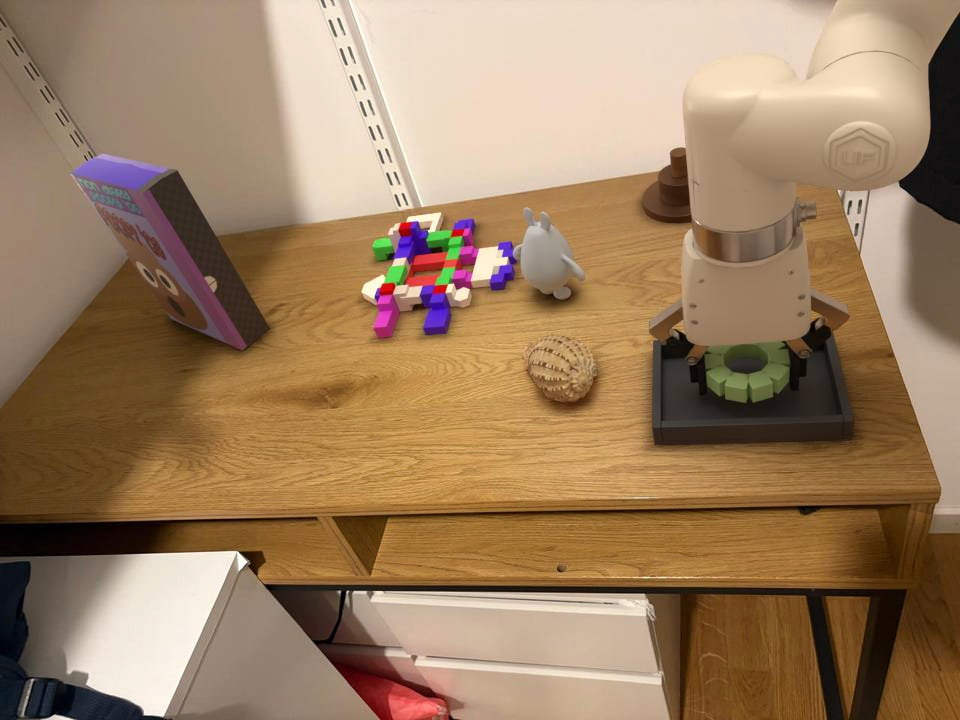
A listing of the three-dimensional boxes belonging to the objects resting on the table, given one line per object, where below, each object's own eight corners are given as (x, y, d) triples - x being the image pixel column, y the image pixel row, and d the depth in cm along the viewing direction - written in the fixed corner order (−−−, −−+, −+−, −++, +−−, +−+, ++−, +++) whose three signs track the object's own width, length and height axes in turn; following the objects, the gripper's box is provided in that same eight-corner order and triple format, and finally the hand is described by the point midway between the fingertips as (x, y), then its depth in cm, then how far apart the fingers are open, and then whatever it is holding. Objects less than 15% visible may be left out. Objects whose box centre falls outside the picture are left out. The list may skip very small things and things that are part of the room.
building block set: (502, 328, 86) (493, 299, 83) (343, 341, 92) (329, 314, 89) (527, 208, 104) (520, 180, 101) (391, 225, 109) (381, 199, 106)
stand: (721, 174, 98) (719, 125, 93) (725, 217, 91) (724, 167, 86) (643, 184, 101) (638, 137, 96) (642, 227, 94) (636, 178, 89)
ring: (784, 341, 70) (785, 327, 68) (794, 400, 64) (795, 386, 63) (702, 346, 72) (701, 333, 71) (705, 404, 67) (704, 391, 65)
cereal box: (171, 319, 106) (68, 172, 90) (197, 299, 108) (101, 151, 92) (243, 351, 96) (141, 191, 80) (270, 328, 98) (176, 168, 82)
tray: (830, 347, 72) (832, 328, 70) (851, 440, 64) (854, 421, 62) (655, 357, 77) (652, 339, 75) (654, 445, 69) (651, 427, 67)
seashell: (520, 409, 80) (582, 414, 72) (491, 366, 78) (551, 365, 70) (563, 364, 83) (627, 363, 75) (536, 322, 81) (598, 316, 73)
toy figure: (606, 291, 86) (591, 204, 78) (574, 323, 84) (555, 236, 76) (537, 268, 93) (517, 185, 85) (505, 297, 90) (481, 214, 82)
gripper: (857, 182, 57) (842, 348, 69) (630, 210, 63) (651, 360, 74) (877, 239, 52) (857, 408, 64) (627, 265, 57) (650, 416, 69)
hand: (746, 381), depth 69 cm, fingers closed on ring, 7 cm apart
